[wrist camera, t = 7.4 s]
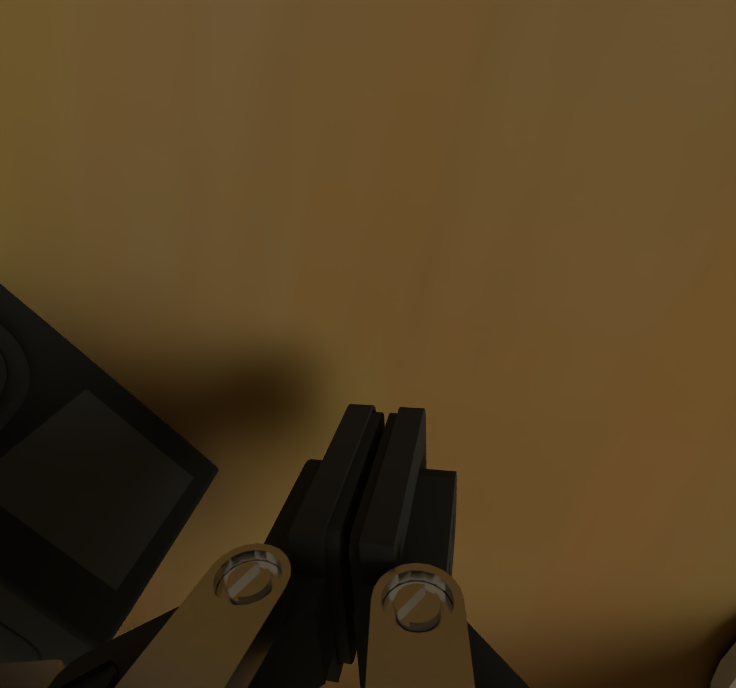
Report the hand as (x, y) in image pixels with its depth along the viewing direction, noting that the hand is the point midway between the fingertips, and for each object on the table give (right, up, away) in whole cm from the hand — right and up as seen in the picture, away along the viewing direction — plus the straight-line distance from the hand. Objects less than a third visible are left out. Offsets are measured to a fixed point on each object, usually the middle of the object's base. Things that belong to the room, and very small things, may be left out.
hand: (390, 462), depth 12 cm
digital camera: (-10, +1, +7) cm, 12 cm away
